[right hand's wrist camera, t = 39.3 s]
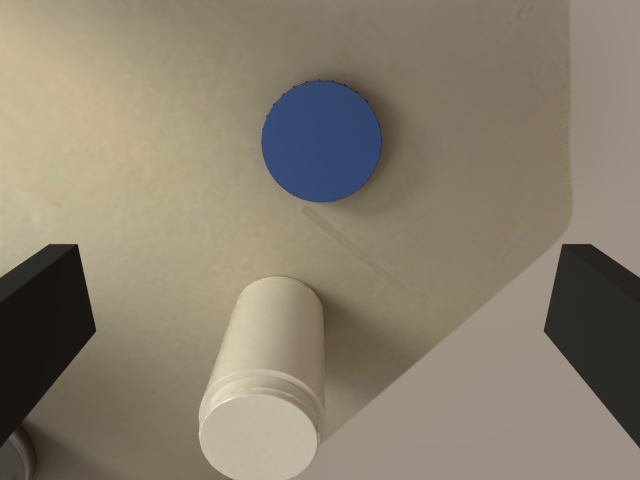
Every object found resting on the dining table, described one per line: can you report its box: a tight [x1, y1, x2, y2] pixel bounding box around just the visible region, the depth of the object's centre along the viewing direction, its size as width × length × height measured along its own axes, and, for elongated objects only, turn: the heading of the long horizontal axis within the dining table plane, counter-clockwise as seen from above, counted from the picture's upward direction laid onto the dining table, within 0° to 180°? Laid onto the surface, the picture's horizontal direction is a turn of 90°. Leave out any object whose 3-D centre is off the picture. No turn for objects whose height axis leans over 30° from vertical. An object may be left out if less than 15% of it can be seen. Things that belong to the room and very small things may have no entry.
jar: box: [199, 276, 325, 480], centre depth 36 cm, size 8×8×15 cm
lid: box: [261, 79, 382, 202], centre depth 36 cm, size 9×9×2 cm
